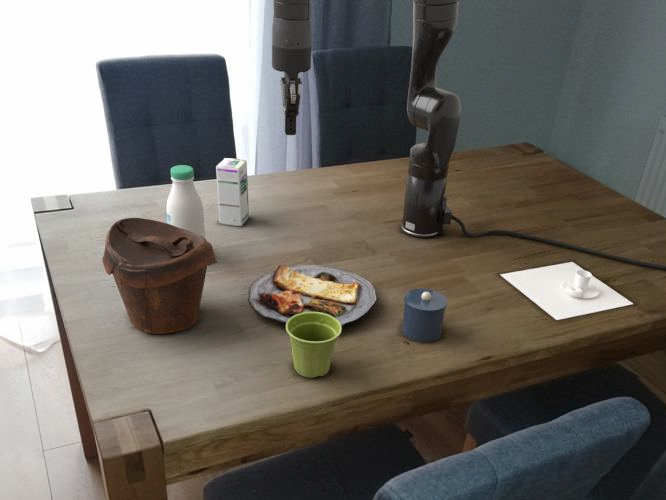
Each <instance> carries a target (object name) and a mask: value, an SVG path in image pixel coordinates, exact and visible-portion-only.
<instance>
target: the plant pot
mask: <svg viewBox="0 0 666 500" xmlns="http://www.w3.org/2000/svg"><path fill="white" fill-rule="evenodd" d="M342 326H343V325H341V324H340V322H339V321H338V320H337V319H336V318H334V317H332V316H330V315H328V314H325V313H321V312H304V313H300V314H297V315H294V316H293V317H291V318H290V319H289V320H288V321H287V323H285V330H286V333H287V335H288V337H289V339H290V345H291V352H292V359H293V361H292V362H293V367H294V370H295V371H296V373H297V374H298V375H300V376H301V377H304V378H310V379H315V378H316V377H324V376H325V375H327V374H328V373H329V371H330V367H331V363H332V358H333V355H334V350H335V346H336V342H337V341H338V338H339V337H340V336H341V334H342V329H343V327H342Z"/></svg>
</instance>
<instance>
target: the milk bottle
mask: <svg viewBox="0 0 666 500" xmlns="http://www.w3.org/2000/svg"><path fill="white" fill-rule="evenodd" d="M170 180H171V181H172V185H171V189H170V192H169V194H168V196H167V201H166V223H167V224H170V225H173V226H176V227H178V228H181V229H184V230H188V231H190V232H193V233H196V234H199V235H201V236H203V237H204V238H205V239H206V230H205V228H206V227H205V214H204V206H203V201H202V199H201V196H200V194H199V193H198V191H197V189H196V187H195V183H194V180H195V171H194V168H193V167H192V166H190V165H186V164H179V165H174V166H172V167H171V168H170Z"/></svg>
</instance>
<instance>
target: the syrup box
mask: <svg viewBox="0 0 666 500" xmlns="http://www.w3.org/2000/svg"><path fill="white" fill-rule="evenodd" d="M215 173H216V174H215V175H216V176H215V177H216V187H217V188H216V191H217V205H218V222H219V224H222V225H227V226H235V227H243V225H244V224H245V223H246V221H247V220H248V218H249V216H250V210H249V208H250V207H249V186H248V185H249V183H248V162H247V160H246V159H241V158H232V157H231V158H230V157H228V158H227V157H224V158H223V160H221V161H220V162H218V164H217V165H216V166H215Z"/></svg>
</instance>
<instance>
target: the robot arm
mask: <svg viewBox="0 0 666 500" xmlns="http://www.w3.org/2000/svg"><path fill="white" fill-rule="evenodd" d="M272 5H273V6H272V15H273V17H272V25H271V67H272V69H273V70H274V71H277V72H280V73H282V72H283V75H284V76H281V77H280V86H281V101H282V106H283V115H284V134H285V135H286V136H295V135H297V117H298V116H299V114H300V112H299V109H300V105H301V92H302V90H303V81H302V78H301V77H299V74H300V73H306V72H309V71H311V68H312V42H313V41H312V38H313V29H312V0H272ZM412 5H413V7H412V29H413V30H412V48H411V49H412V50H411V67H410V77H409V85H408V93H407V103H406V113H407V118H408V120H409V122H410V124H411V125H412V126H414V127H415V128H418V129H420V130H423V131H425V132H427V137H426V141H425V142H421V143H417V144H414V145H412V147H410V150H409V157H408V167H407V168H408V169H407V176H406V185H405V194H404V202H403V203H404V204H403V213H402V219H401V228H400V229H401V230H402V232H403V233H404V234H406V235H408V236H412V237H416V238H433V237H436V236H441V235H443V228H444V226H446V225H447V226H450V225H451V221H452V220H453V221H455V222H456V223H457V224H458V225H459V226H460V228H461V231H462V233H463V235H464V236H466V237H468V238H477V237H483V236H487V235H492V234H493V235H494V234H499V235H500V234H502V235H508V236H515V237H519V238H523V239H528V240H533V241H538V242H542V243H547V244H550V245H551V244H552V245H556V246H559V247H562V248H563V247H564V248H568V249H570V250H571V249H572V250H576V251H579V252H583V253H588V254H591V255H595V256H600V257H604V258H607V259H611V260H617V261H621V262H625V263H629V264H633V265H639V266H642V267H643V266H644V267H647V268H648V267H649V268H652V269H653V268H654V269H659V270H665V271H666V265H663V264H657V263H652V262H646V261H641V260H638V259H633V258H629V257H624V256H619V255H614V254H611V253H606V252H603V251H599V250H594V249H590V248H586V247H582V246H578V245H574V244H571V243H567V242H564V241H563V242H562V241H558V240H554V239H551V238H545V237H540V236H536V235H532V234H531V235H530V234H526V233H521V232H517V231H512V230H507V229H506V230H505V229H490V230H486V231H483V232H479V233H471V232H469V231H467V229H466V226H465V224H464V222H463V221H462V220H461V219H460V218H458V217H456V216H455V215H453V212H452V210H451V208H450V207H449V206H448V204H447V201H448V197H447V196H446V190H447V189H446V187H447V181H448V173H449V167H450V160H451V156H452V155H453V152H454V150H455V146H456V141H457V137H458V136H457V135H458V131H459V126H460V122H461V116H462V103H461V99H460V97H459V96H458V95H457V94H456V93H453V92H452V91H448V90H445V89H441V88H439V87H438V86H437V77H438V76H437V74H438V66H439V62H440V59H441V57H442V54H443V53H444V51H445V49H446V48H447V46H448V45H449V43H450V42H451V39H452V38H453V36H454V34H455V33H456V30H457V27H458V23H459V22H458V21H459V12H460V11H459V10H460V0H413V4H412Z"/></svg>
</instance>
